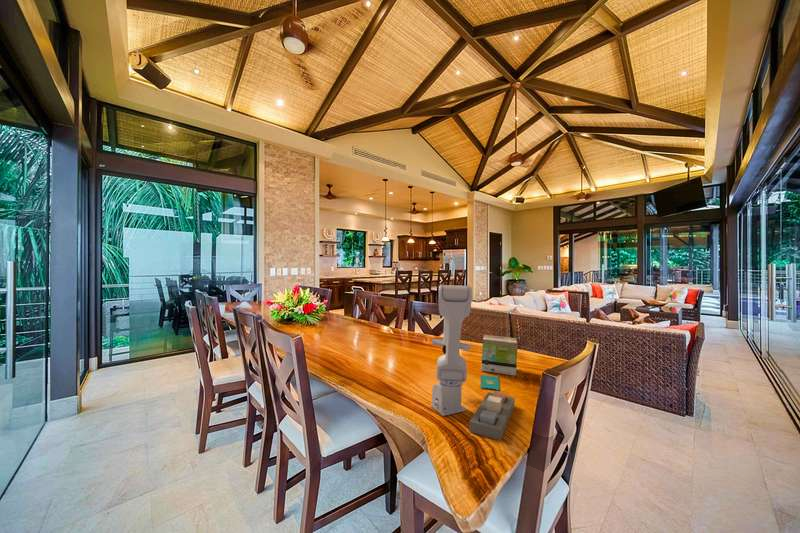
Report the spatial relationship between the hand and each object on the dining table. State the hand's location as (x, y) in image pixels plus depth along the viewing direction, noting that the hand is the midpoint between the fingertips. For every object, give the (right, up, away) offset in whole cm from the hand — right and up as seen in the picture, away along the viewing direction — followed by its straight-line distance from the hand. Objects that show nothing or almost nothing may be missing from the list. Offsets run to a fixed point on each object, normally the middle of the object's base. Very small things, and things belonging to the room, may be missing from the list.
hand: (450, 366), depth 122 cm
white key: (+11, -9, -20) cm, 24 cm away
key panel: (+11, -10, -20) cm, 25 cm away
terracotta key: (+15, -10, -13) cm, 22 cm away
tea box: (+26, -10, +24) cm, 37 cm away
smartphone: (+18, -10, +9) cm, 22 cm away
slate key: (+7, -10, -27) cm, 30 cm away
